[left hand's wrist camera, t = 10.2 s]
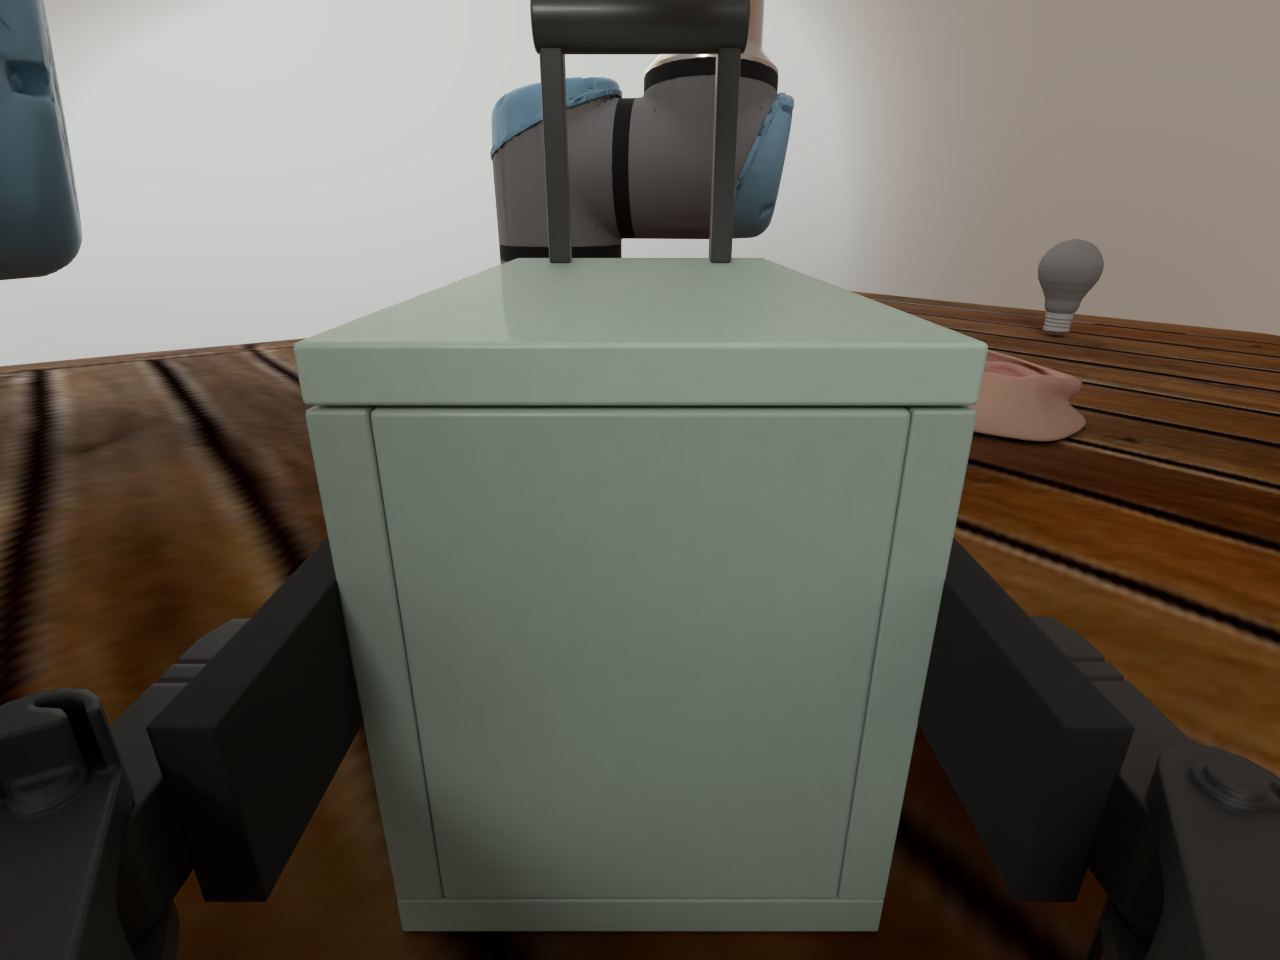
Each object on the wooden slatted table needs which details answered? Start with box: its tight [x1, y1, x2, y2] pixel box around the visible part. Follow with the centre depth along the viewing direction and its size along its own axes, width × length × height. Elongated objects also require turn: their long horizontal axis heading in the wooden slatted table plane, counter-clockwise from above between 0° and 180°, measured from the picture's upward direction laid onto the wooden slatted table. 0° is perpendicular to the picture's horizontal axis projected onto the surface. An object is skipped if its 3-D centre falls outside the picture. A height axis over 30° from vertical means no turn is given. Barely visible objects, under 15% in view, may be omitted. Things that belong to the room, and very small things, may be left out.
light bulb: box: [1038, 239, 1104, 335], centre depth 74 cm, size 6×6×10 cm
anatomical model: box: [968, 350, 1086, 442], centre depth 46 cm, size 13×4×12 cm
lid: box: [293, 0, 988, 406], centre depth 16 cm, size 18×9×9 cm, turn 0°
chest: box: [305, 406, 977, 931], centre depth 19 cm, size 17×9×10 cm, turn 0°
